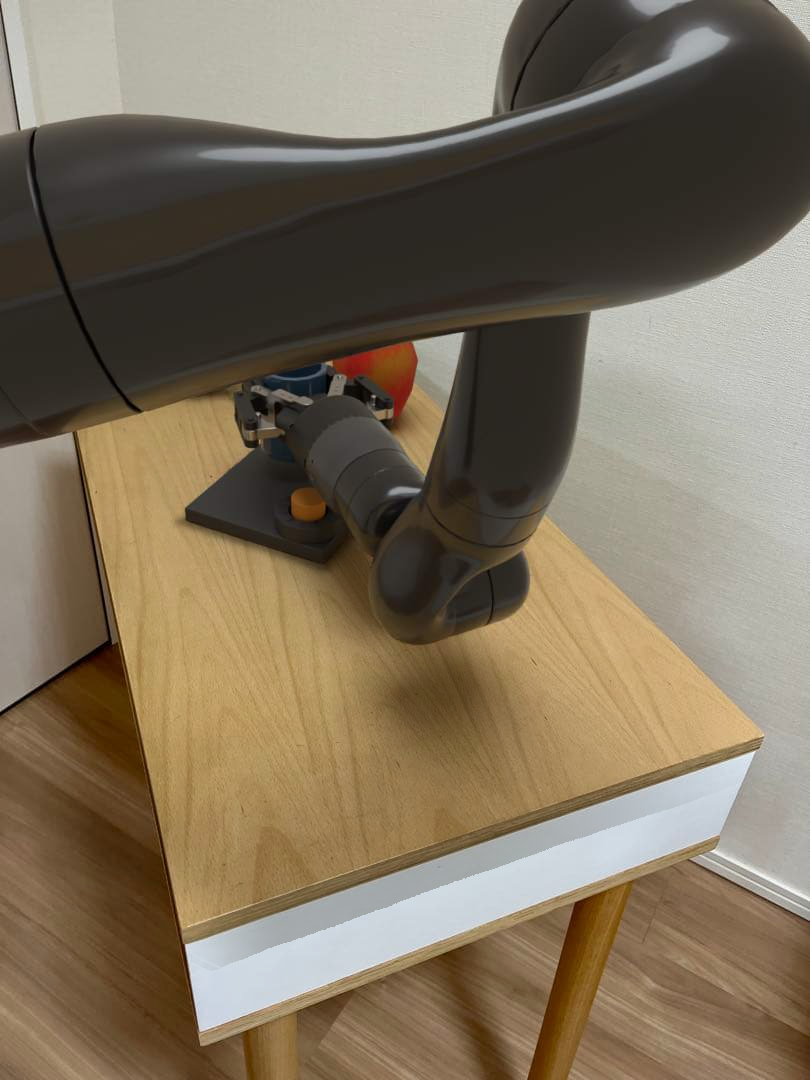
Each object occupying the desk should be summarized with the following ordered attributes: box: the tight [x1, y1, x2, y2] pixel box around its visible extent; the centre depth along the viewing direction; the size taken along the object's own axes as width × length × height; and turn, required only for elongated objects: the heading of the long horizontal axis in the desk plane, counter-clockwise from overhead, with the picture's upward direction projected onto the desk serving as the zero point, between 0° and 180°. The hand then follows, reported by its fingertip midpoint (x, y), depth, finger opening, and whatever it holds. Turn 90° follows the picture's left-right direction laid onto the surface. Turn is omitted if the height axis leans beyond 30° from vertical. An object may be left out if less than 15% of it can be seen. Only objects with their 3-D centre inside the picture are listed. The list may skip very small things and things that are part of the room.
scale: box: [184, 442, 350, 565], centre depth 78 cm, size 16×14×3 cm
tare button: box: [291, 488, 326, 521], centre depth 72 cm, size 3×3×2 cm
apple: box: [331, 342, 419, 420], centre depth 89 cm, size 9×9×12 cm
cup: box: [259, 362, 328, 463], centre depth 77 cm, size 6×6×8 cm
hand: (284, 374), depth 77 cm, fingers closed on cup, 6 cm apart
